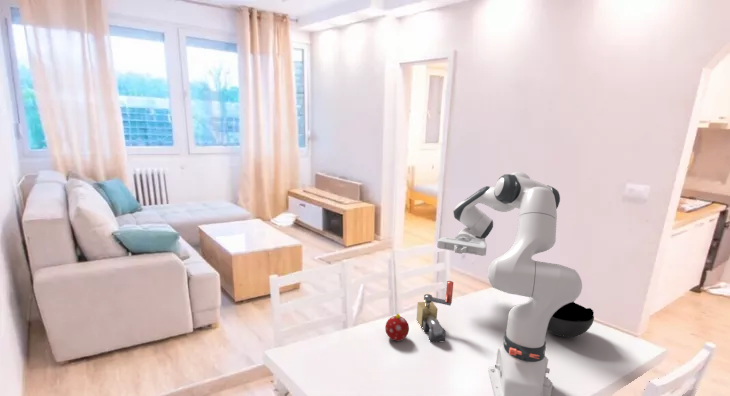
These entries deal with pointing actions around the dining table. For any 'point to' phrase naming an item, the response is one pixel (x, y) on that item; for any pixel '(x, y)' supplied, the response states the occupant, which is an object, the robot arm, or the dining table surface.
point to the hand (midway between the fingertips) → (458, 251)
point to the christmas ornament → (397, 328)
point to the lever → (447, 301)
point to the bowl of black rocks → (571, 320)
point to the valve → (430, 321)
